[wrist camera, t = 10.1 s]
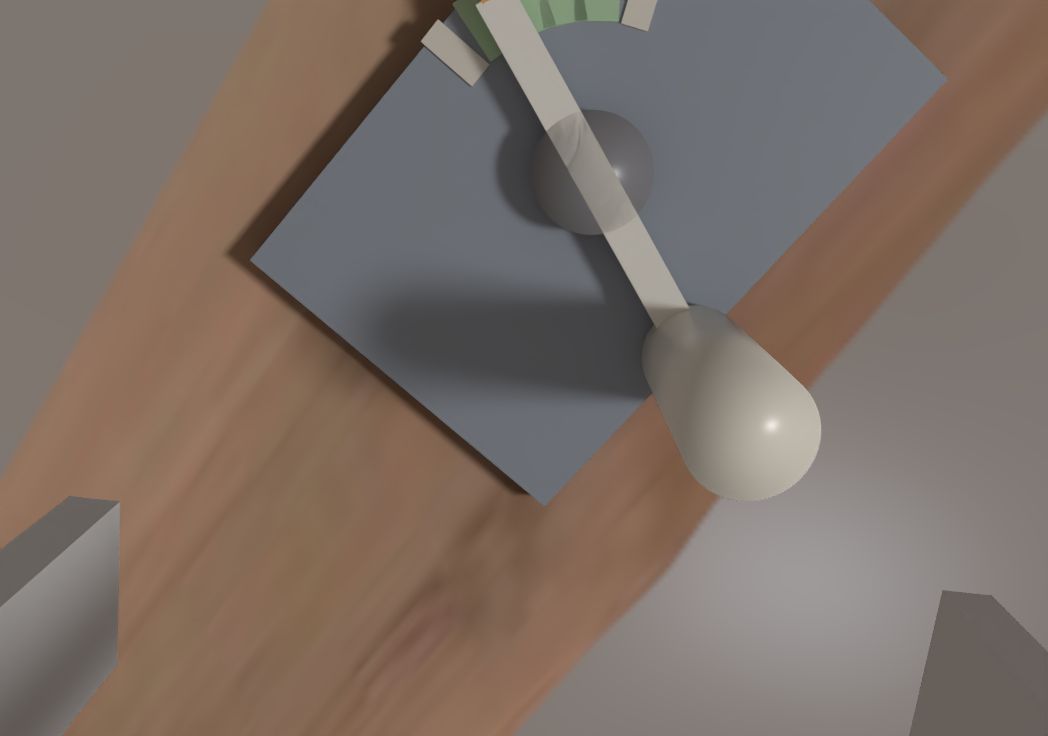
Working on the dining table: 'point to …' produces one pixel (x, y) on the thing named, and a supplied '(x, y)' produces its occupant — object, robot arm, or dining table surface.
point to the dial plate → (567, 257)
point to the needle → (661, 289)
